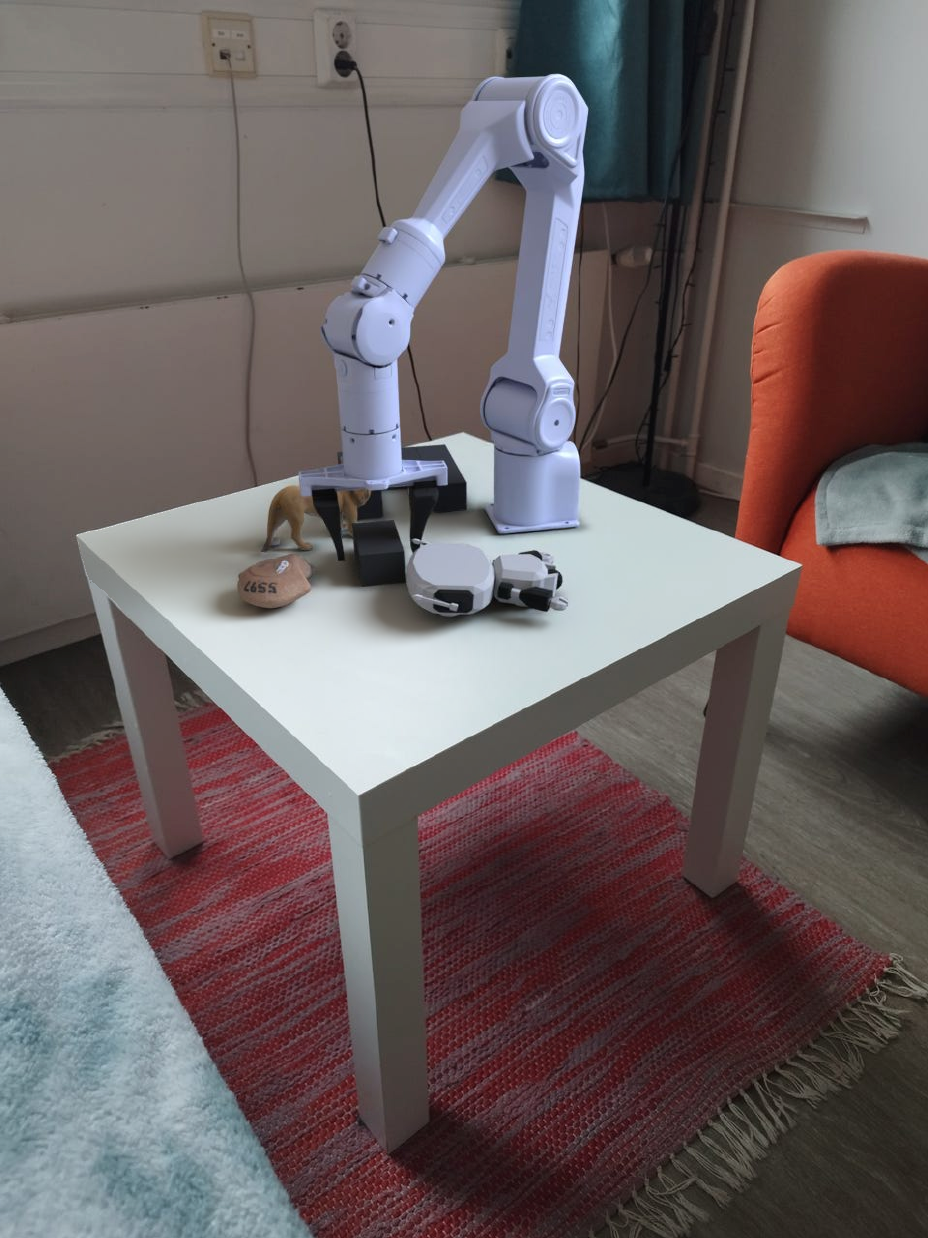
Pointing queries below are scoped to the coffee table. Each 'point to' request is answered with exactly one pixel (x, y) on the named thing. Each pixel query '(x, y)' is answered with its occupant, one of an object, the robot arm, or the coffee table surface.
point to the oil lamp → (275, 581)
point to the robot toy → (480, 579)
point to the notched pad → (448, 495)
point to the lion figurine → (308, 512)
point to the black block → (378, 553)
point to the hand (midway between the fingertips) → (378, 553)
